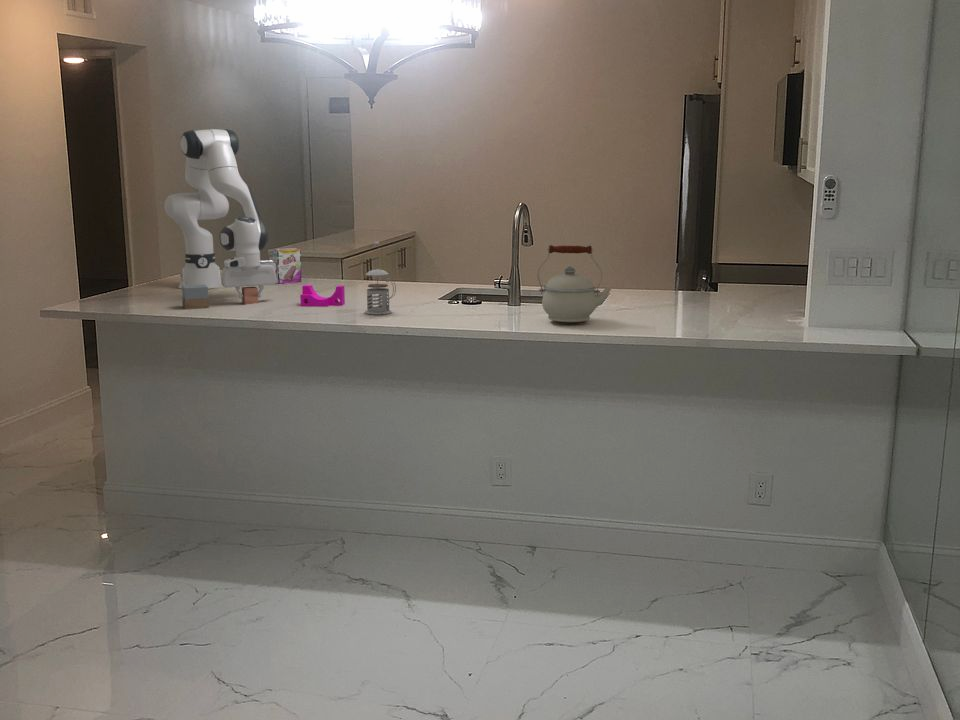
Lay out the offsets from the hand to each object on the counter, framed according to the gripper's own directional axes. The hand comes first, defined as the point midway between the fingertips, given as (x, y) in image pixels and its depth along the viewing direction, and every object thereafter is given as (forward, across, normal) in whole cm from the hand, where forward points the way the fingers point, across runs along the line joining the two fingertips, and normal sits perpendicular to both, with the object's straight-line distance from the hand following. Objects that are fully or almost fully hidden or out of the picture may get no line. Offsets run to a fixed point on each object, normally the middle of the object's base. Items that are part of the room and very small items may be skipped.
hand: (250, 297), depth 354 cm
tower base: (+2, +20, +1) cm, 20 cm away
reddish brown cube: (+2, 0, 0) cm, 2 cm away
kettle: (+2, -91, +84) cm, 124 cm away
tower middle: (-2, +20, +1) cm, 20 cm away
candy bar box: (+2, -25, -42) cm, 49 cm away
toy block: (+3, -23, +17) cm, 29 cm away
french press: (+2, -37, +42) cm, 56 cm away
